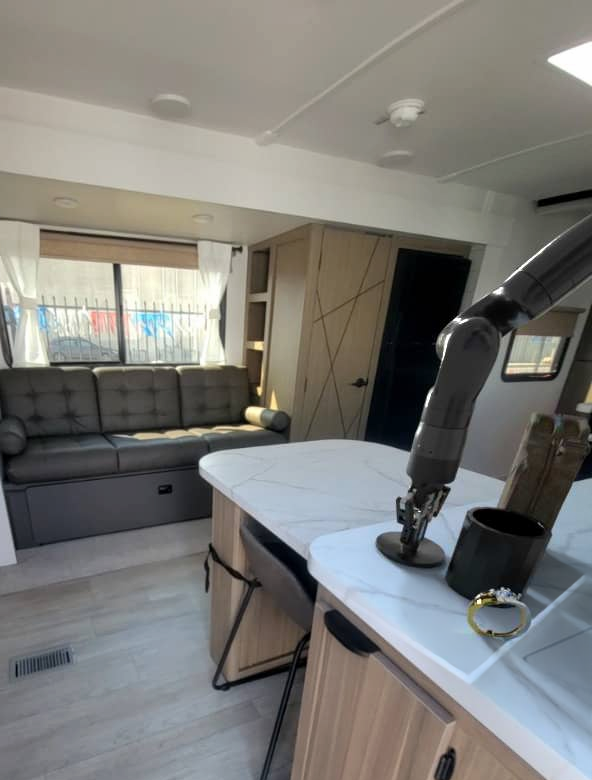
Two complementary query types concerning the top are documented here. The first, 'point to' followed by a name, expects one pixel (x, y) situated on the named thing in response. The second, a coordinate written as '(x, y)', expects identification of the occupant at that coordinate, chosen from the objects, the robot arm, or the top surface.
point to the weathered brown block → (546, 465)
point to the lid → (411, 548)
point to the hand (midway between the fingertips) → (411, 541)
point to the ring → (502, 597)
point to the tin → (496, 553)
